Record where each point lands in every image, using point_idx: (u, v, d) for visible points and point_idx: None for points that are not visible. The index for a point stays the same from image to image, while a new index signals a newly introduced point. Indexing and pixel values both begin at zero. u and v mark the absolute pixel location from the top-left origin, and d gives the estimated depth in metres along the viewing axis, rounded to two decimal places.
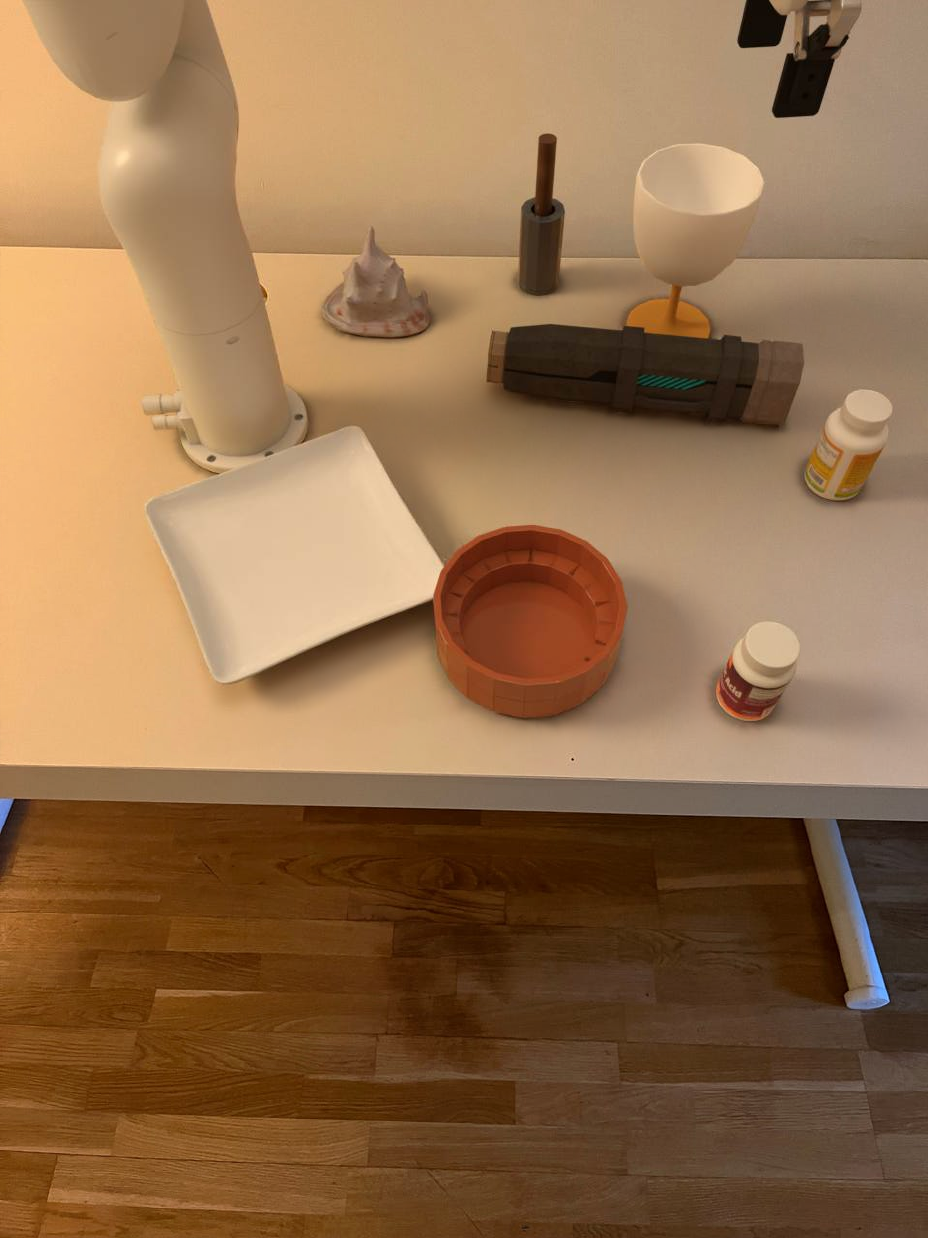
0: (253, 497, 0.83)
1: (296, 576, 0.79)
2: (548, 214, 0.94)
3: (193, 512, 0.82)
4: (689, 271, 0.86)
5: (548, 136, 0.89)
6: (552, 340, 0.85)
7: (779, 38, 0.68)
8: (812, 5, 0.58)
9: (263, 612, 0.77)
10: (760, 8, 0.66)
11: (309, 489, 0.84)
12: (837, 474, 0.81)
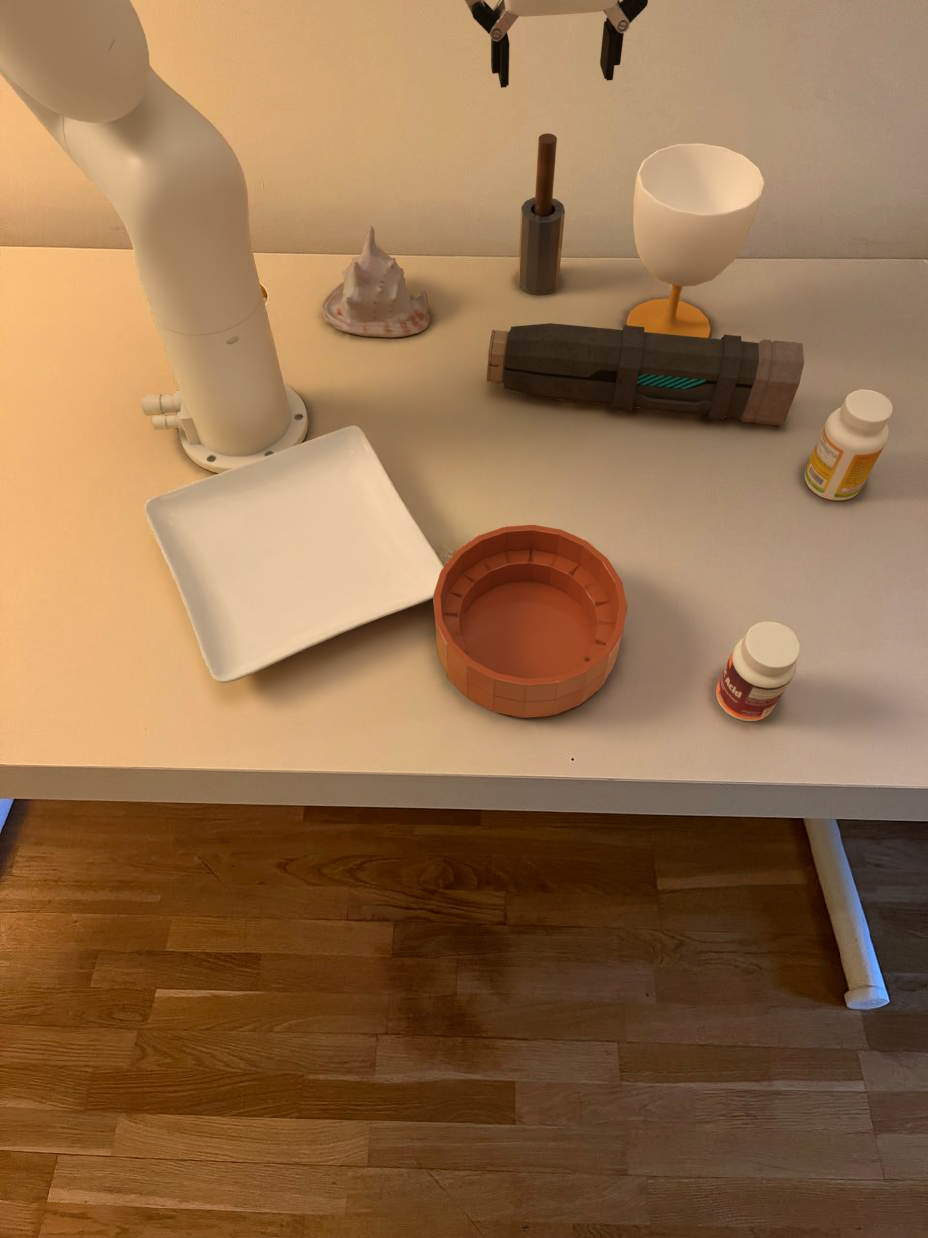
0: (253, 496, 0.83)
1: (295, 575, 0.79)
2: (548, 214, 0.94)
3: (193, 511, 0.82)
4: (689, 271, 0.86)
5: (548, 136, 0.89)
6: (552, 339, 0.85)
7: (605, 73, 0.83)
8: None
9: (261, 611, 0.77)
10: (604, 37, 0.82)
11: (308, 489, 0.84)
12: (837, 474, 0.81)
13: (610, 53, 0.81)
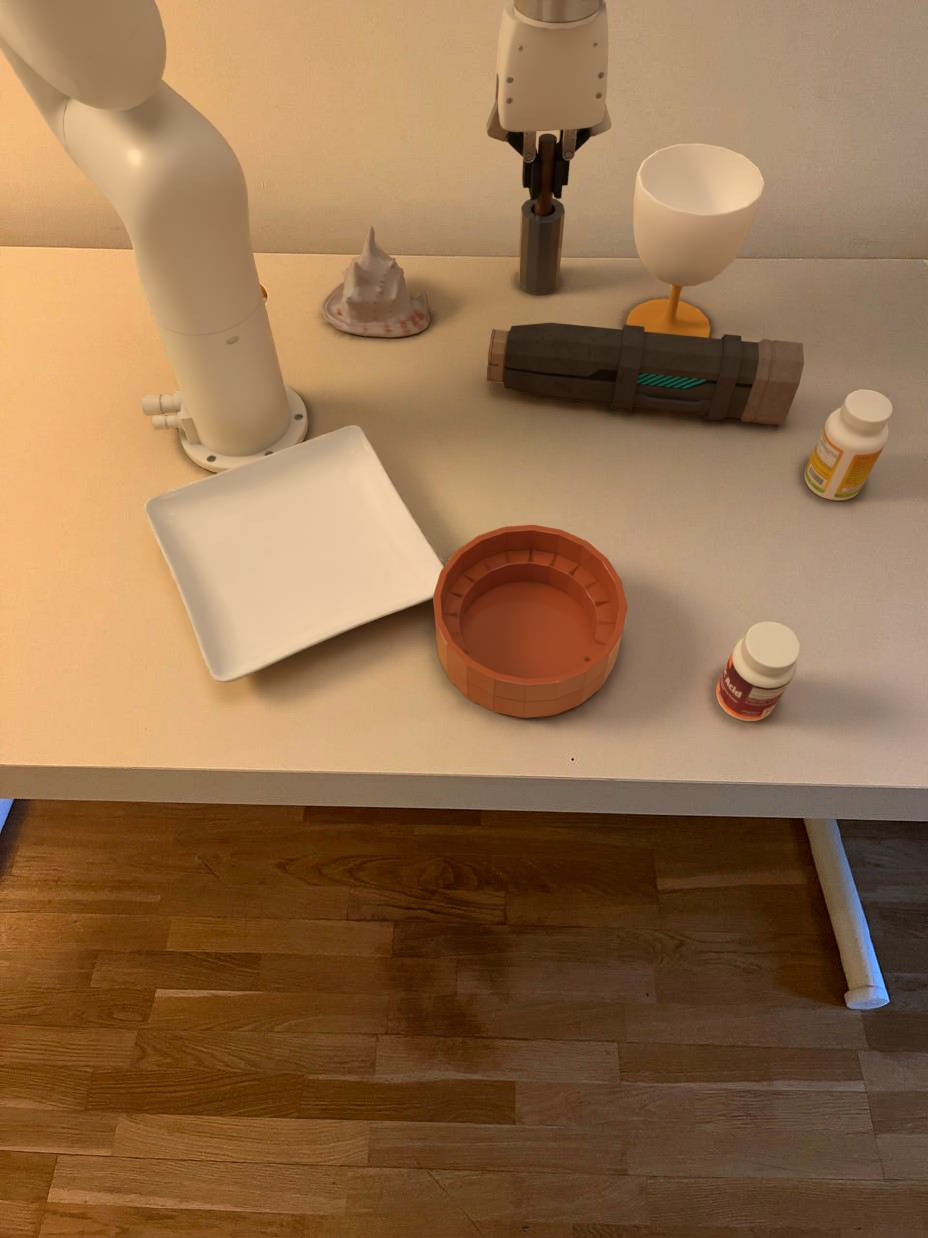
0: (253, 496, 0.83)
1: (295, 574, 0.79)
2: (548, 214, 0.94)
3: (193, 511, 0.82)
4: (689, 271, 0.86)
5: (548, 136, 0.89)
6: (552, 339, 0.85)
7: (554, 193, 0.92)
8: None
9: (261, 611, 0.77)
10: None
11: (308, 488, 0.84)
12: (837, 474, 0.81)
13: (558, 177, 0.90)
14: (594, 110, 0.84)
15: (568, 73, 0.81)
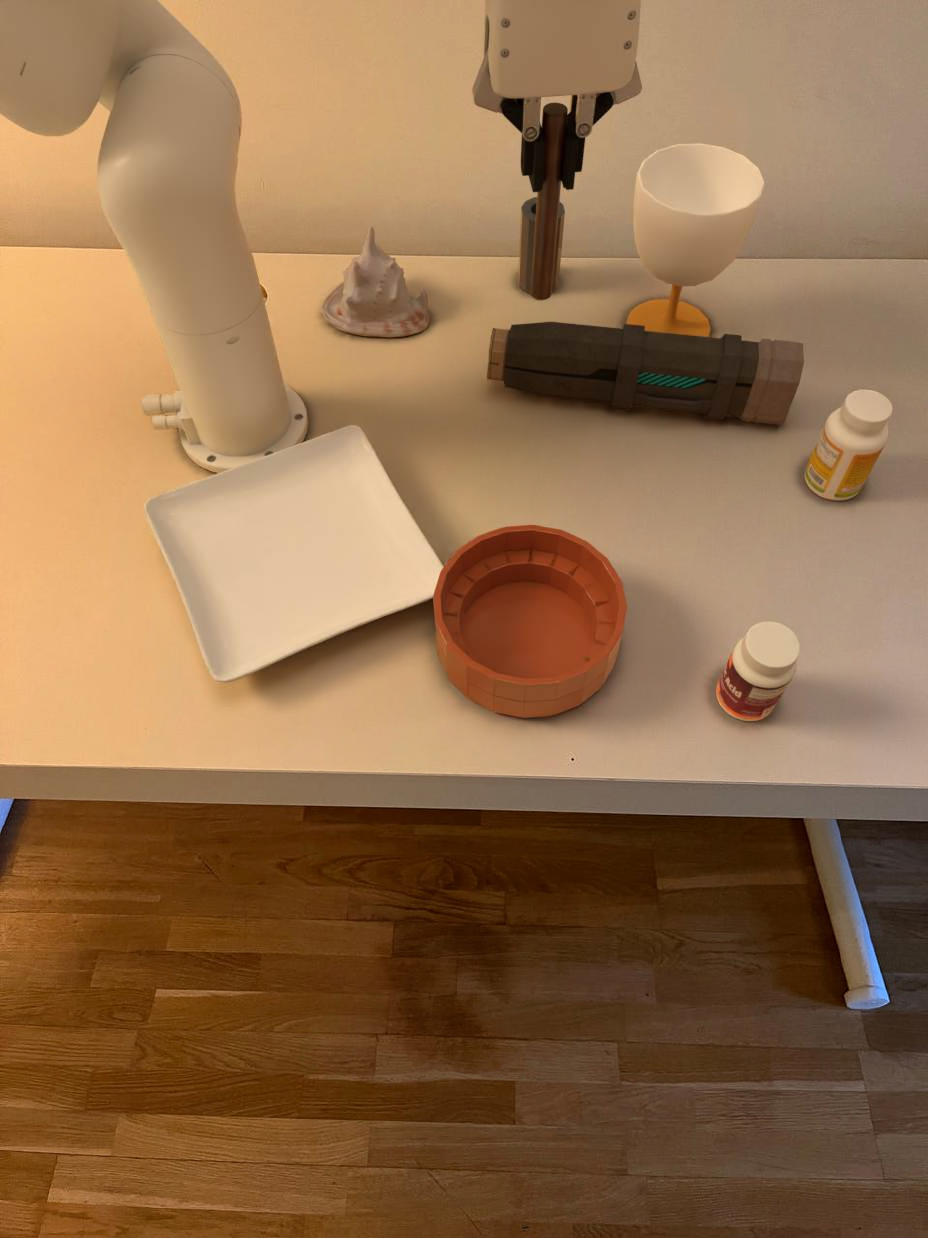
0: (253, 496, 0.83)
1: (295, 574, 0.79)
2: (554, 211, 0.71)
3: (193, 511, 0.82)
4: (689, 271, 0.86)
5: (555, 106, 0.66)
6: (553, 338, 0.86)
7: (564, 182, 0.69)
8: None
9: (261, 611, 0.77)
10: None
11: (308, 488, 0.84)
12: (837, 474, 0.81)
13: (569, 160, 0.67)
14: (621, 66, 0.61)
15: (587, 12, 0.58)
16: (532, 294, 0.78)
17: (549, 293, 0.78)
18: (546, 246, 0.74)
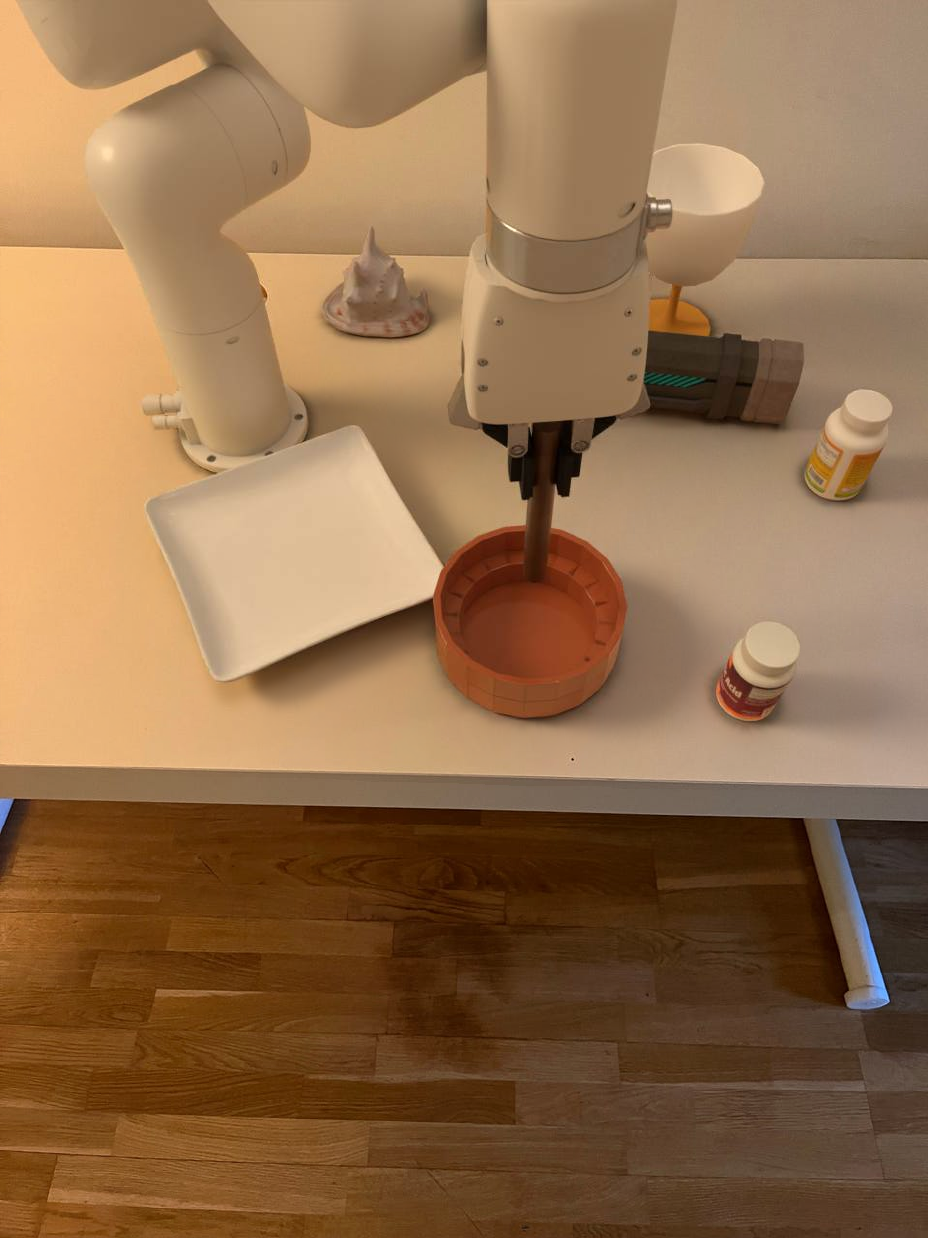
0: (253, 496, 0.83)
1: (295, 574, 0.79)
2: (548, 511, 0.61)
3: (193, 511, 0.82)
4: (689, 271, 0.86)
5: None
6: None
7: (558, 490, 0.58)
8: None
9: (261, 611, 0.77)
10: None
11: (308, 488, 0.84)
12: (837, 474, 0.81)
13: (564, 473, 0.57)
14: (624, 396, 0.51)
15: (581, 353, 0.48)
16: (524, 576, 0.68)
17: (544, 576, 0.68)
18: (539, 540, 0.64)
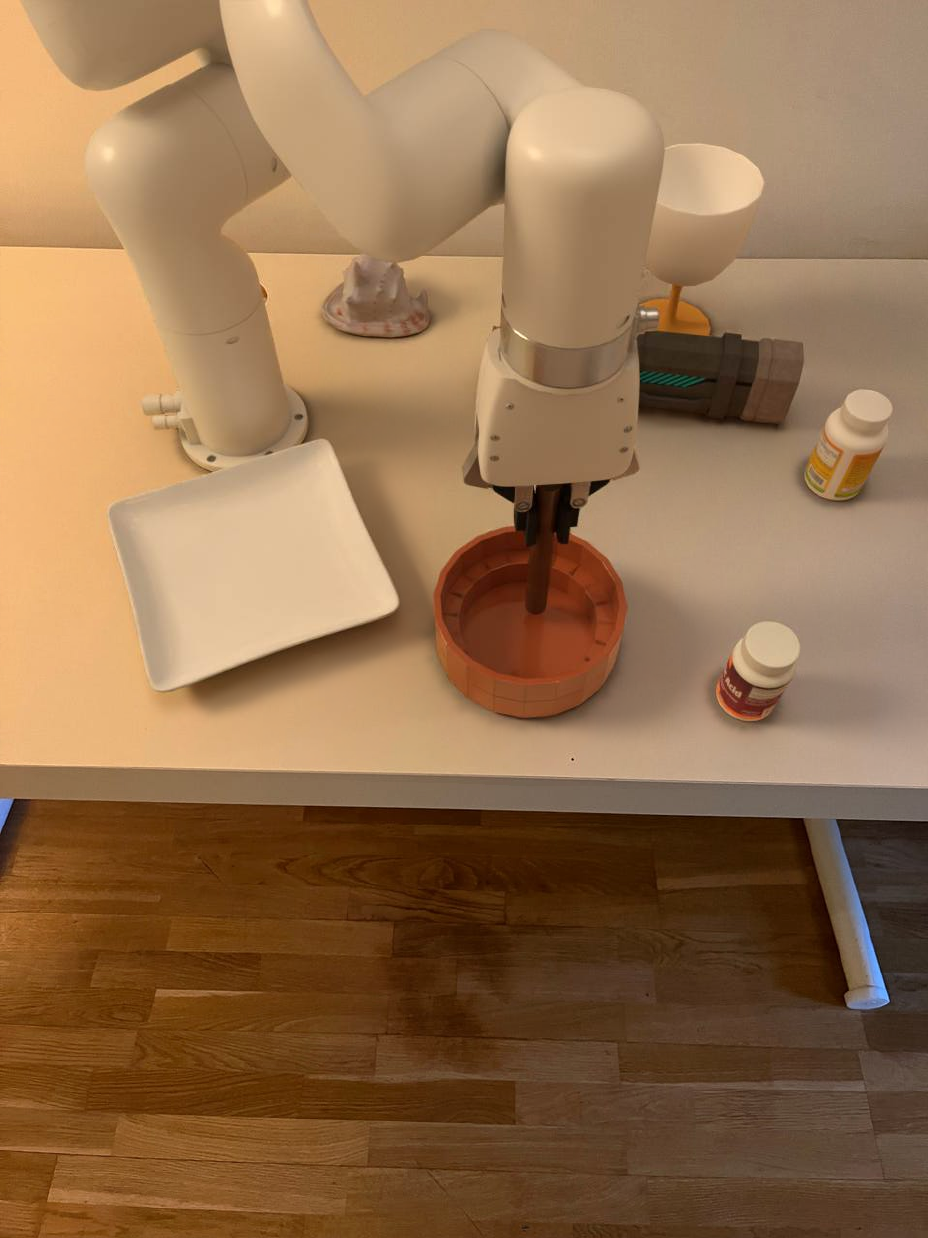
0: (217, 505, 0.83)
1: (249, 587, 0.79)
2: (548, 555, 0.69)
3: (156, 517, 0.82)
4: (689, 271, 0.86)
5: None
6: None
7: (558, 539, 0.66)
8: None
9: (211, 622, 0.77)
10: None
11: (273, 500, 0.84)
12: (837, 474, 0.81)
13: (563, 525, 0.65)
14: (617, 464, 0.59)
15: (580, 431, 0.55)
16: (526, 608, 0.76)
17: (544, 609, 0.76)
18: (540, 579, 0.71)
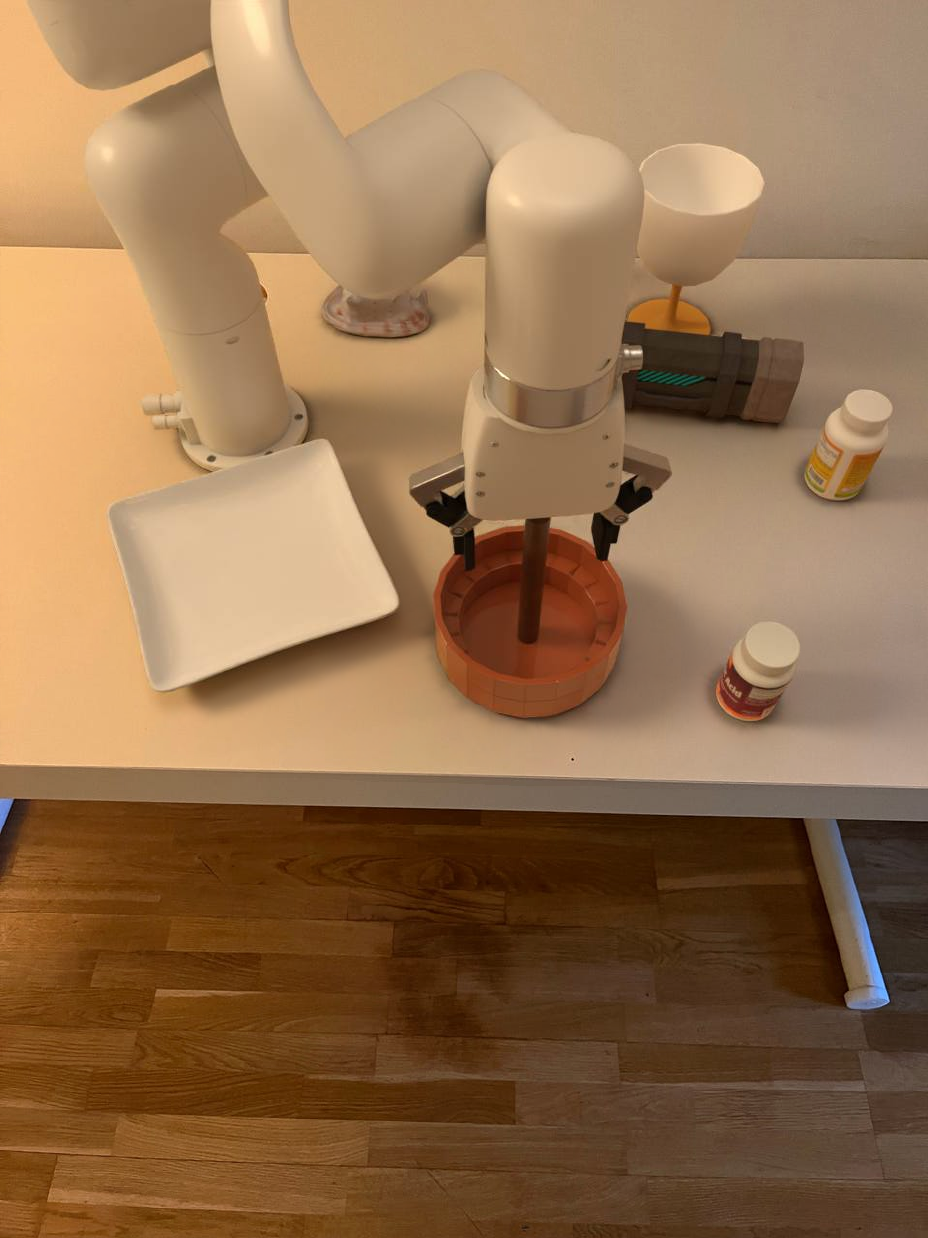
0: (217, 505, 0.83)
1: (249, 587, 0.79)
2: (539, 586, 0.69)
3: (156, 517, 0.82)
4: (689, 271, 0.86)
5: None
6: None
7: (597, 555, 0.65)
8: None
9: (211, 622, 0.77)
10: (596, 515, 0.64)
11: (273, 500, 0.84)
12: (837, 474, 0.81)
13: (603, 542, 0.64)
14: (603, 499, 0.59)
15: (566, 467, 0.55)
16: (518, 638, 0.76)
17: (536, 638, 0.75)
18: (531, 609, 0.71)
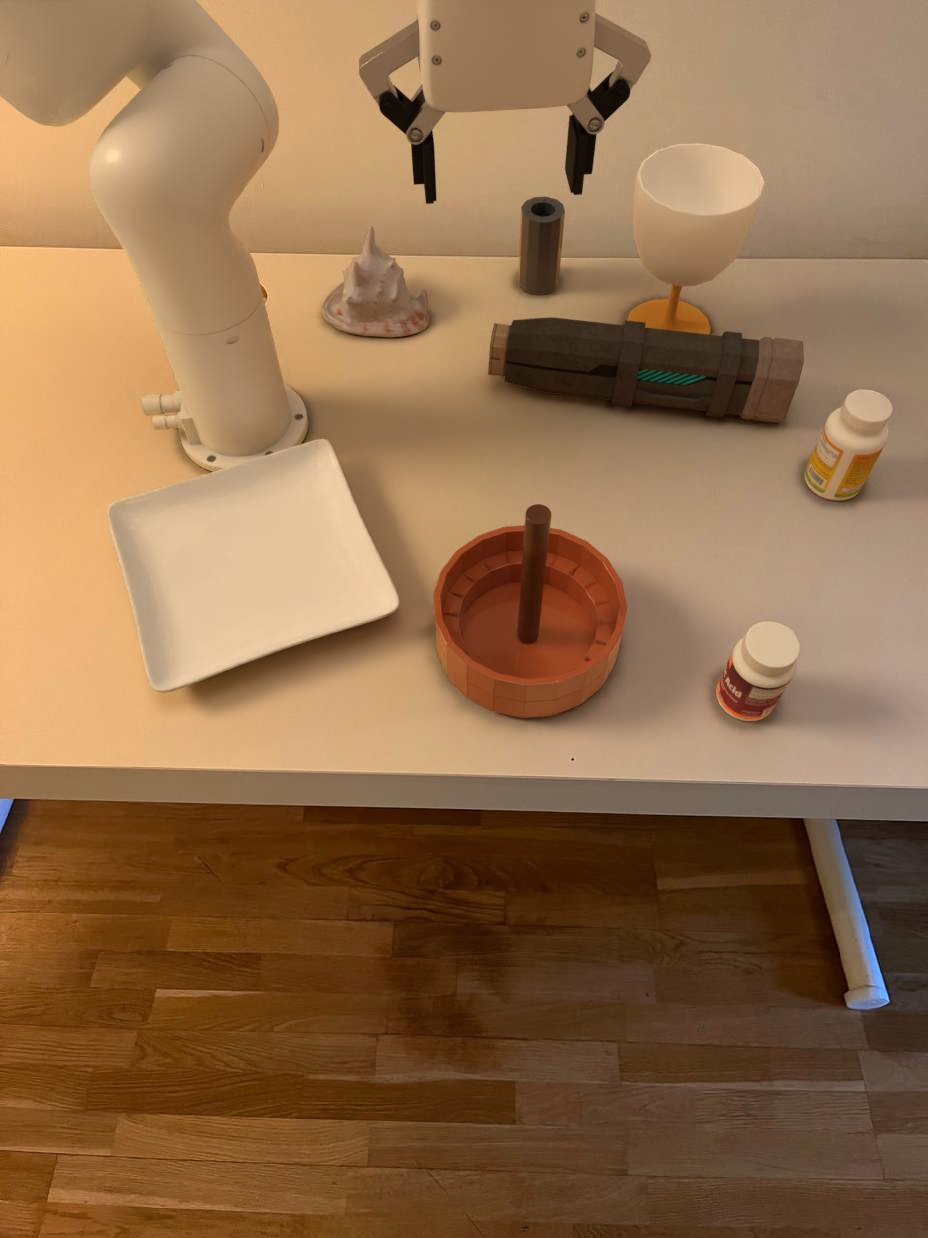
0: (217, 505, 0.83)
1: (249, 587, 0.79)
2: (539, 586, 0.69)
3: (156, 517, 0.82)
4: (689, 271, 0.86)
5: (539, 510, 0.63)
6: (553, 333, 0.86)
7: (571, 186, 0.59)
8: None
9: (211, 622, 0.77)
10: (569, 137, 0.58)
11: (273, 500, 0.84)
12: (837, 474, 0.81)
13: (577, 161, 0.58)
14: (574, 77, 0.53)
15: (530, 14, 0.49)
16: (518, 638, 0.76)
17: (536, 638, 0.75)
18: (531, 609, 0.71)
